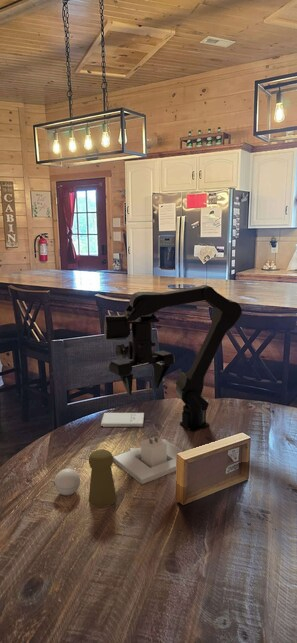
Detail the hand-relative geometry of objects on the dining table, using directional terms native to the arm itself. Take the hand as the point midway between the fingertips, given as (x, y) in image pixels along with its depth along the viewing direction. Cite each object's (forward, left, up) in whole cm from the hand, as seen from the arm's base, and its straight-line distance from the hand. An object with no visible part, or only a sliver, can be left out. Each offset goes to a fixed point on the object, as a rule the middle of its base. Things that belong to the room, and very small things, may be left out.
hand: (143, 391), depth 127 cm
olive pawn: (+26, +22, -12) cm, 36 cm away
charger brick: (+8, +16, -12) cm, 21 cm away
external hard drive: (+1, -9, -13) cm, 16 cm away
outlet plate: (+8, +16, -12) cm, 22 cm away
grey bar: (+14, +9, -12) cm, 20 cm away
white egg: (+32, +16, -12) cm, 38 cm away
